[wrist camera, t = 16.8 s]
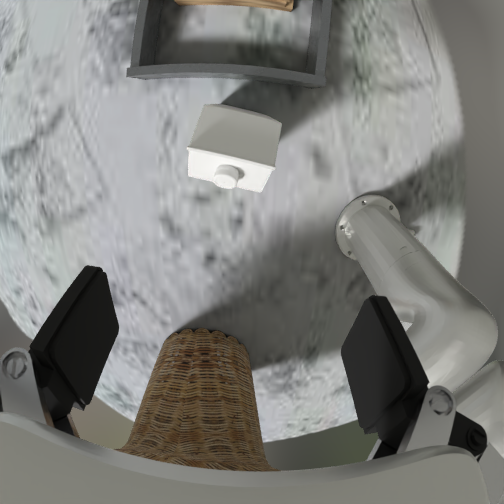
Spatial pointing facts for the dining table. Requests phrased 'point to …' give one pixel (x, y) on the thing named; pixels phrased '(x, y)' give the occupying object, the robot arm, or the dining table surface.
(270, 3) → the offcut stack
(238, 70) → the dark grey tray
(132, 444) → the wicker basket
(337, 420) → the dining table surface
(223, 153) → the milk carton
